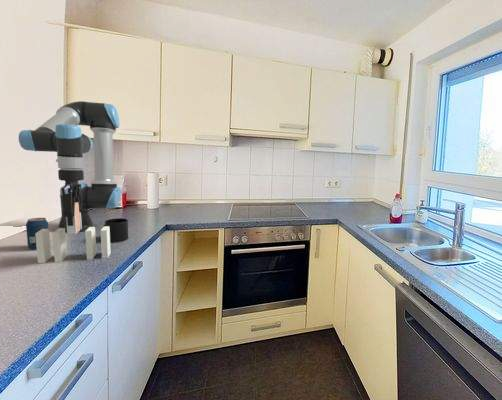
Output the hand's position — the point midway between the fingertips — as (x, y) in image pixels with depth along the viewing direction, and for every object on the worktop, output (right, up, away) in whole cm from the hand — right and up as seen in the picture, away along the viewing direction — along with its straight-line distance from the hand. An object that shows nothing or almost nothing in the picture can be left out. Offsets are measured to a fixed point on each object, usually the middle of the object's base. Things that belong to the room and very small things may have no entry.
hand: (74, 231), depth 96 cm
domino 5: (+9, -10, +5) cm, 14 cm away
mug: (+2, -7, +25) cm, 26 cm away
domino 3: (0, 0, 0) cm, 0 cm away
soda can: (-22, -8, +10) cm, 25 cm away
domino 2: (-5, -10, 0) cm, 12 cm away
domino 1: (-10, -10, -2) cm, 14 cm away
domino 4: (+4, -10, +4) cm, 12 cm away
